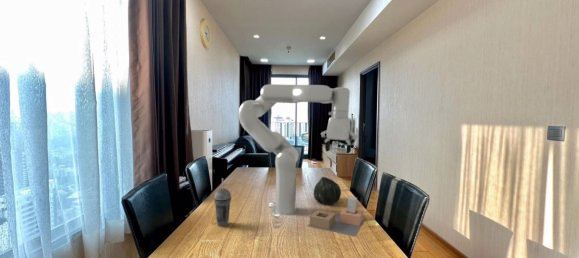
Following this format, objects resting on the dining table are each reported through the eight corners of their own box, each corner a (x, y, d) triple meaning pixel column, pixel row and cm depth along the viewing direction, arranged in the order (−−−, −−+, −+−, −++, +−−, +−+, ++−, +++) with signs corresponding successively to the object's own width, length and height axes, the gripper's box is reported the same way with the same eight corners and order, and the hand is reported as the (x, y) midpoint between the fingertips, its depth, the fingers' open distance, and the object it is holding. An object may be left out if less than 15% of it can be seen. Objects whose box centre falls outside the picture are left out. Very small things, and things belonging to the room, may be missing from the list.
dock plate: (307, 229, 112) (307, 216, 112) (323, 214, 130) (323, 202, 130) (355, 240, 103) (355, 226, 103) (365, 222, 121) (365, 210, 121)
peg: (347, 221, 118) (347, 198, 118) (349, 218, 121) (349, 196, 121) (354, 222, 117) (355, 199, 116) (356, 220, 120) (356, 197, 119)
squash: (349, 192, 148) (333, 170, 152) (338, 201, 135) (321, 176, 140) (331, 205, 154) (316, 183, 159) (319, 214, 142) (303, 190, 146)
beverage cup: (213, 228, 112) (213, 181, 111) (213, 221, 119) (213, 177, 118) (231, 227, 114) (231, 180, 113) (230, 220, 121) (230, 176, 120)
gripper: (319, 114, 124) (317, 151, 125) (356, 115, 116) (354, 155, 117) (324, 114, 130) (322, 149, 131) (360, 116, 122) (358, 153, 123)
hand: (337, 152), depth 124 cm, fingers open, 9 cm apart
